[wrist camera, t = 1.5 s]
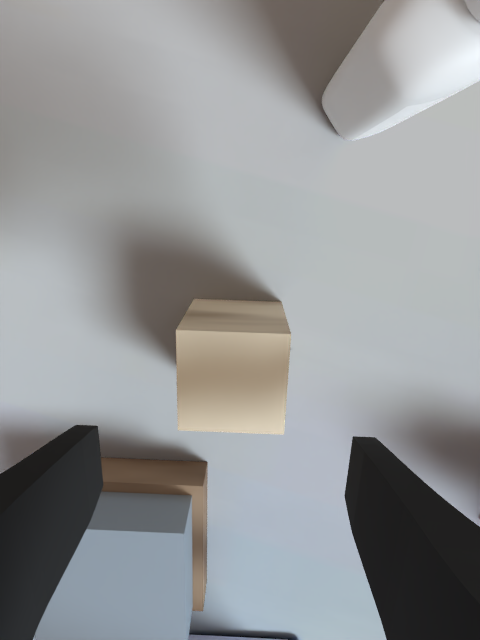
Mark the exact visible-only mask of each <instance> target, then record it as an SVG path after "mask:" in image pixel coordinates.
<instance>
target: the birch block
mask: <svg viewBox="0 0 480 640" xmlns="http://www.w3.org/2000/svg"><path fill="white" fill-rule="evenodd" d="M290 342H291V332H290V329H289V326H288V322H287V319H286V316H285V312H284V309H283V306H282V302H275V301H246V300H217V299H193V301H192V303H191V305H190V306H189V308H188V310H187V311H186V313H185V315H184V317H183V318H182V320H181V322H180V324H179V325H178V327H177V329H176V362H177V409H178V430H183V431H208V432H233V433H258V434H283V435H284V426H285V412H286V398H287V384H288V370H289V356H290Z"/></svg>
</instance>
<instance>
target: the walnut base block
mask: <svg viewBox="0 0 480 640" xmlns="http://www.w3.org/2000/svg"><path fill="white" fill-rule="evenodd" d="M101 465H102V475H103V488H102V491H101V492H124V493H148V494H171V495H192V572H193V609H192V611H203V607H204V599H205V591H206V582H207V462H196V461H173V460H150V459H127V458H104V457H101Z"/></svg>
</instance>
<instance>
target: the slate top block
mask: <svg viewBox="0 0 480 640" xmlns="http://www.w3.org/2000/svg"><path fill="white" fill-rule="evenodd" d="M192 609H193V572H192V495H171V494H148V493H124V492H101V494H100V497H99V500H98V502H97V505H96V508H95V511H94V513H93V516H92V518H91V521H90V523H89V525H88V527H87V529H86V531H85V533H84V535H83V537H82V539H81V541H80V543H79V545H78V547H77V549H76V551H75V553H74V555H73V557H72V559H71V561H70V563H69V565H68V567H67V568H66V570H65V572H64V574H63V576H62V578H61V580H60V582H59V584H58V586H57V588H56V590H55V592H54V594H53V596H52V598H51V600H50V602H49V604H48V606H47V608H46V610H45V612H44V614H43V616H42V619H41V621H40V623H39V625H38V628H37V630H36V632H35V639H36V640H188V637H189V630H190V623H191V616H192Z"/></svg>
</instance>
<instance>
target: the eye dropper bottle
mask: <svg viewBox="0 0 480 640" xmlns="http://www.w3.org/2000/svg"><path fill="white" fill-rule="evenodd" d="M478 81H480V0H384V1H383V3H382V4H381V6H380V7H379V9H378V10H377V12H376V13H375V15H374V16H373V17H372V19H371V20H370V22H369V23H368V25H367V26H366V28H365V29H364V31H363V32H362V34H361V35H360V37H359V38H358V40H357V41H356V43H355V44H354V46H353V47H352V49H351V50H350V52H349V53H348V55H347V56H346V58H345V59H344V61H343V62H342V64H341V65H340V67H339V68H338V70H337V71H336V73H335V74H334V76H333V77H332V79H331V81H330V82H329V84H328V85H327V87H326V89H325V91H324V93H323V97H322V105H323V109H324V111H325V113H326V114H327V116H328V118H329V120H330V121H331V123H332V125H333V126H334V128H335V130H336V131H337V133H338V134H339V136H341V137H342V138H343V139H344V140H349V141H352V140H358V139H362V138H366V137H369V136H372V135H375V134H377V133H380V132H382V131H384V130H386V129H388V128H390V127H392V126H394V125H396V124H398V123H400V122H402V121H404V120H406V119H408V118H410V117H411V116H413V115H415V114H417V113H419V112H421V111H423V110H425V109H427V108H429V107H431V106H433V105H435V104H436V103H438V102H440V101H442V100H444V99H446V98H448V97H450V96H452V95H454V94H456V93H457V92H459V91H461V90H463V89H465V88H467V87H469V86H471V85H472V84H474V83H476V82H478Z"/></svg>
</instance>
